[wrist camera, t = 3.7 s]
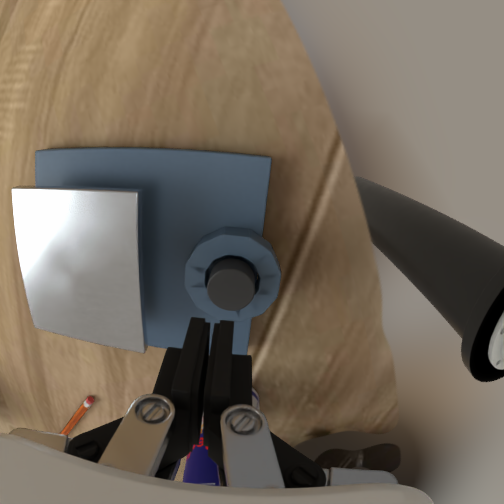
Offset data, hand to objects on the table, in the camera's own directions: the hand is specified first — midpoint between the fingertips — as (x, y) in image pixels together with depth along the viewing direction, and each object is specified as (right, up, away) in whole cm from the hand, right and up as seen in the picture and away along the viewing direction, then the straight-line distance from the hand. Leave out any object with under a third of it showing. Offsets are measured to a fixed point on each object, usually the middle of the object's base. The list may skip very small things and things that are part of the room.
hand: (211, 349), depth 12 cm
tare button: (0, +2, +6) cm, 7 cm away
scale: (-6, +4, +9) cm, 11 cm away
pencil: (-21, -17, +17) cm, 32 cm away
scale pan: (-9, +3, +5) cm, 11 cm away
